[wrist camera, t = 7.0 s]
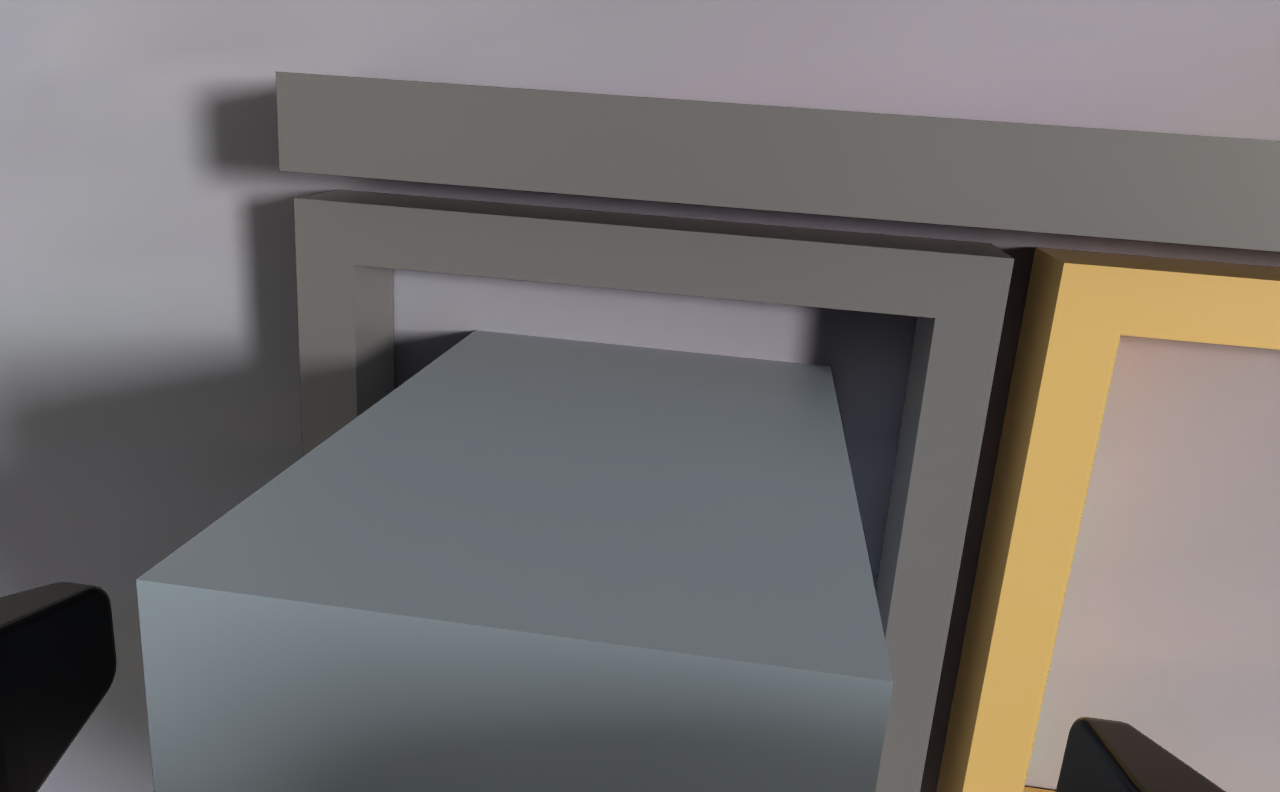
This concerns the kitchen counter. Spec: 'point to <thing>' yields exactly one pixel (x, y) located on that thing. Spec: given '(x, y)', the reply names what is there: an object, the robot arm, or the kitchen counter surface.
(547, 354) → the blue-grey box
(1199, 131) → the kitchen counter surface
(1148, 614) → the kitchen counter surface
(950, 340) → the cubby shelf with drawer
